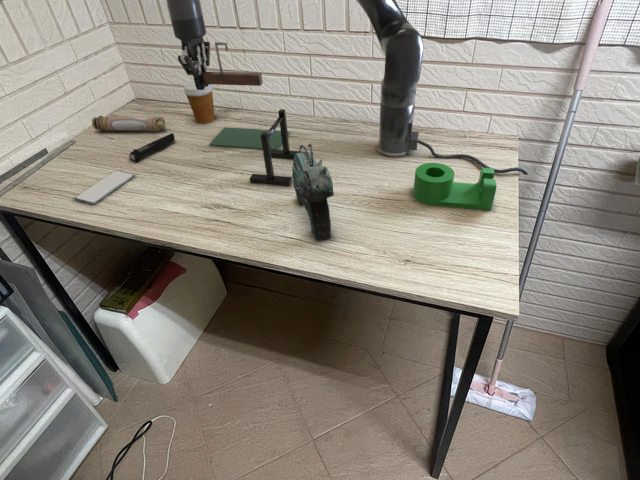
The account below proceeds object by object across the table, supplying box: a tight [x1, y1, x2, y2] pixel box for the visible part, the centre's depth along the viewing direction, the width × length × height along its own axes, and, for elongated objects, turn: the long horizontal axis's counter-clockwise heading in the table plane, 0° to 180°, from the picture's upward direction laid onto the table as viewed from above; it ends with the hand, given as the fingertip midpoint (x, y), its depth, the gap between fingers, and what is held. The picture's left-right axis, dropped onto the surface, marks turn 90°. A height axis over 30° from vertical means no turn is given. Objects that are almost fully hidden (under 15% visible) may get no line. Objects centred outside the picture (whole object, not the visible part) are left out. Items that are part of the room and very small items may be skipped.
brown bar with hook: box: [202, 41, 264, 87], centre depth 106 cm, size 18×2×10 cm, turn 77°
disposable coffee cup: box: [183, 80, 216, 124], centre depth 143 cm, size 10×10×12 cm
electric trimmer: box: [128, 132, 176, 163], centre depth 130 cm, size 4×16×3 cm, turn 142°
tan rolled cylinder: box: [91, 115, 166, 132], centre depth 141 cm, size 6×25×5 cm, turn 82°
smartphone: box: [74, 170, 135, 205], centre depth 115 cm, size 7×1×15 cm
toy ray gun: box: [291, 143, 335, 242], centre depth 93 cm, size 20×6×20 cm, turn 17°
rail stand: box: [249, 108, 305, 188], centre depth 114 cm, size 16×11×14 cm
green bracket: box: [412, 162, 497, 211], centre depth 102 cm, size 18×9×6 cm, turn 78°
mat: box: [208, 127, 290, 151], centre depth 133 cm, size 22×12×1 cm, turn 76°
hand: (202, 87), depth 111 cm, fingers closed on brown bar with hook, 2 cm apart
